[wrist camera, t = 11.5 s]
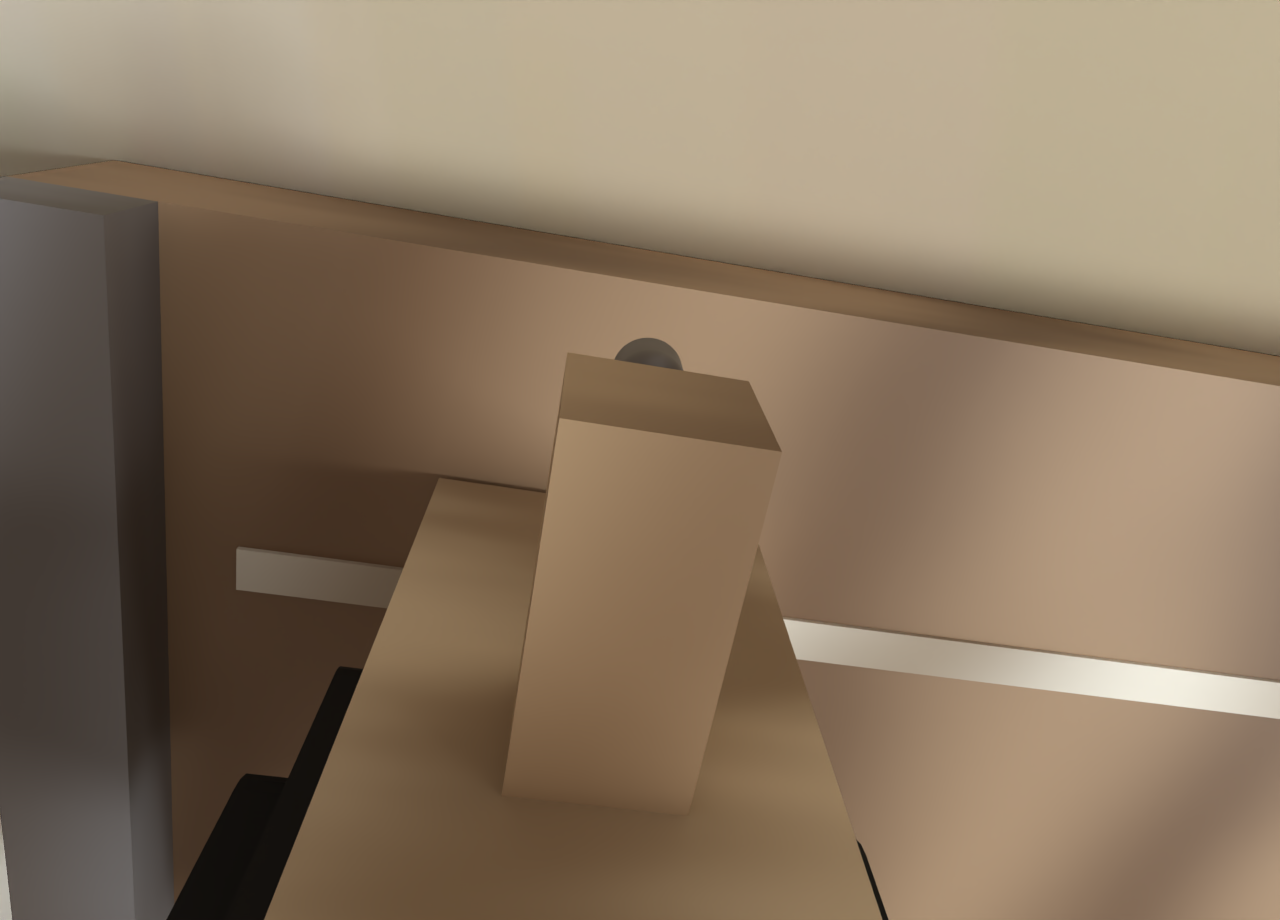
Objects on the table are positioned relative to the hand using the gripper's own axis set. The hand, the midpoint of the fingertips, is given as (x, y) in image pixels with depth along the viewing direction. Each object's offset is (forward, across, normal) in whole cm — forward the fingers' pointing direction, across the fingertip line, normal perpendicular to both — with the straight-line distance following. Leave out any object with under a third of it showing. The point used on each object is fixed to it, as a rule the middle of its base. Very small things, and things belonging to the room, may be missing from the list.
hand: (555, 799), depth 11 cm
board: (+4, -4, 0) cm, 6 cm away
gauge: (+2, 0, -1) cm, 2 cm away
